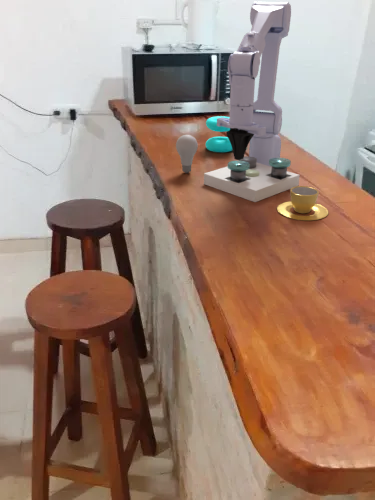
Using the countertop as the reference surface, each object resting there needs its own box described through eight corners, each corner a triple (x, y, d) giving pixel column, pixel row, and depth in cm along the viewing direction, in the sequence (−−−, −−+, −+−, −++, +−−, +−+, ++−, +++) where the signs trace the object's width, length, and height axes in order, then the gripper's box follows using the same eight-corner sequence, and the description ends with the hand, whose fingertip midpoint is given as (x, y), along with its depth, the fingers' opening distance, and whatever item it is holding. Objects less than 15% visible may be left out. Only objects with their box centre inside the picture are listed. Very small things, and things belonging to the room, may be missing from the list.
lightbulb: (195, 177, 143) (195, 138, 138) (173, 175, 144) (173, 137, 139) (199, 170, 148) (199, 132, 143) (178, 169, 149) (178, 131, 144)
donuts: (202, 116, 167) (231, 114, 169) (201, 146, 172) (230, 144, 174) (211, 123, 158) (241, 121, 161) (210, 154, 163) (239, 152, 165)
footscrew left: (276, 173, 139) (278, 156, 137) (293, 178, 135) (295, 160, 133) (263, 178, 136) (264, 160, 133) (280, 183, 132) (281, 165, 130)
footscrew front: (236, 176, 136) (237, 159, 134) (252, 181, 133) (254, 164, 131) (222, 181, 133) (223, 163, 131) (238, 186, 129) (239, 168, 127)
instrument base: (247, 170, 149) (248, 153, 146) (298, 185, 137) (300, 167, 135) (203, 184, 138) (204, 166, 135) (254, 202, 126) (256, 182, 124)
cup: (324, 225, 114) (327, 202, 112) (271, 217, 118) (273, 195, 116) (330, 206, 124) (333, 185, 122) (282, 200, 128) (284, 179, 126)
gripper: (208, 102, 126) (207, 155, 132) (253, 111, 117) (250, 168, 123) (228, 98, 131) (226, 150, 137) (273, 107, 121) (268, 162, 127)
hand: (238, 158), depth 130 cm, fingers closed
